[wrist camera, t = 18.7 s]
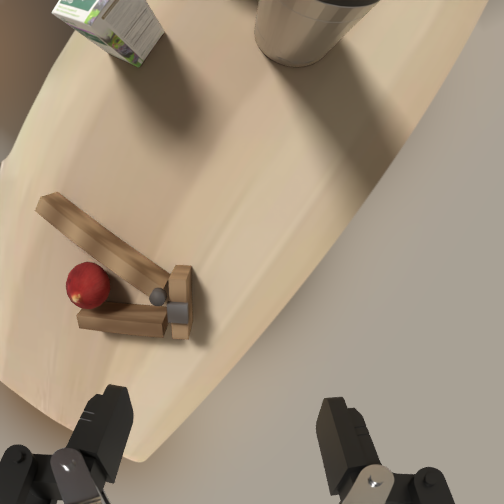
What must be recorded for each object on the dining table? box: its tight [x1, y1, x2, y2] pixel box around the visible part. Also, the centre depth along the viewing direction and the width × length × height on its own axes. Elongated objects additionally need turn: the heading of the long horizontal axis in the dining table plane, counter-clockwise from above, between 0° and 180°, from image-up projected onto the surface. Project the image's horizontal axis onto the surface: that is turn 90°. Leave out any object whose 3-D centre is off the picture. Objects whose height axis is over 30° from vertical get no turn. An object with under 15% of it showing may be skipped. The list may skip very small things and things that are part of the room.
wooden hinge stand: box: [76, 265, 193, 340], centre depth 36 cm, size 8×15×5 cm, turn 87°
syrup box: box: [52, 0, 165, 67], centre depth 22 cm, size 6×6×14 cm
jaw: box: [35, 192, 171, 306], centre depth 34 cm, size 20×2×5 cm, turn 53°
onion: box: [66, 262, 110, 309], centre depth 34 cm, size 6×6×8 cm
